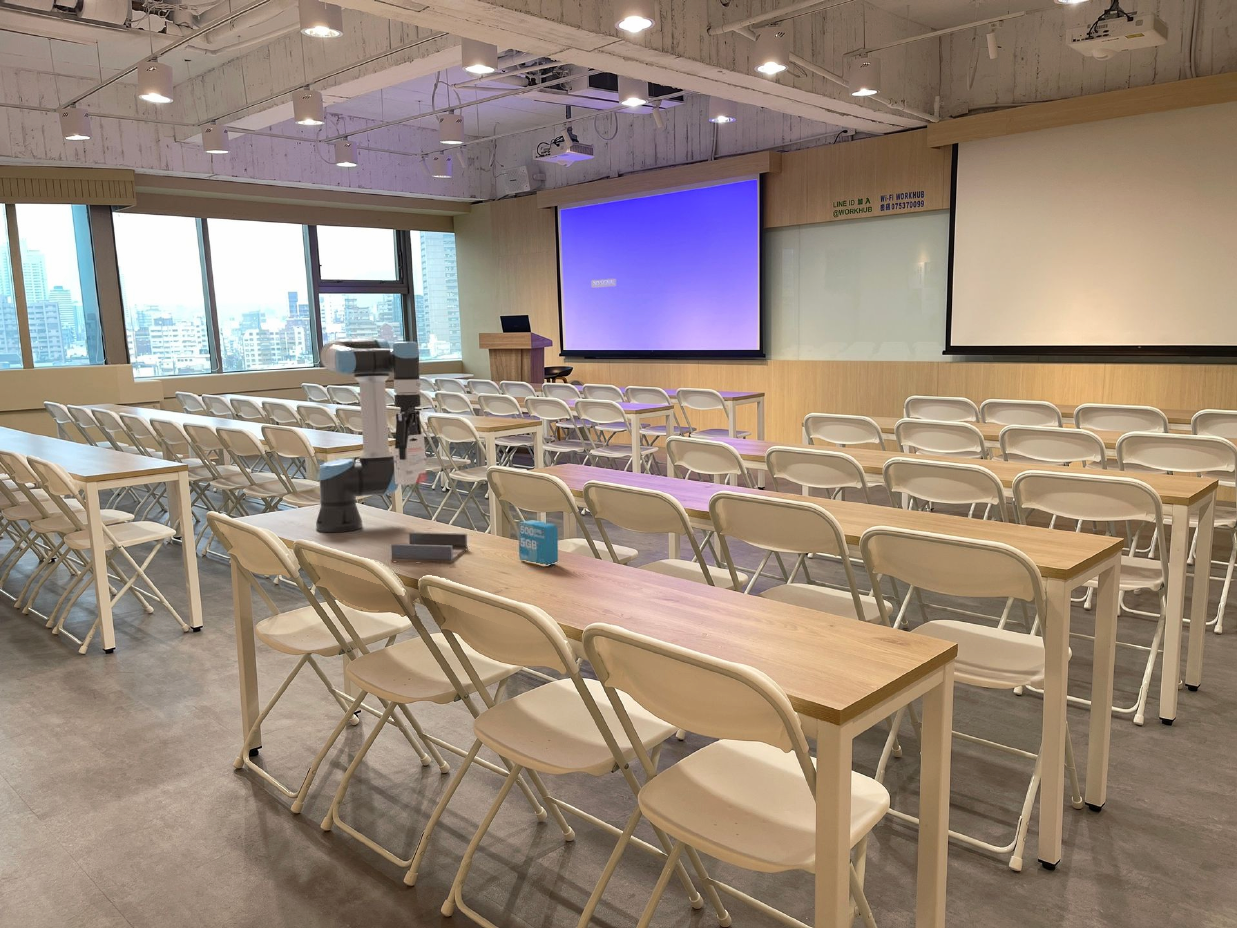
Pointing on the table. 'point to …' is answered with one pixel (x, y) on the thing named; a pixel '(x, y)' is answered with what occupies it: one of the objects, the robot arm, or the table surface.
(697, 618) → the table surface
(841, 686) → the table surface
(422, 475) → the ink cartridge box
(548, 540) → the data package
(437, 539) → the track board
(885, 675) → the table surface
